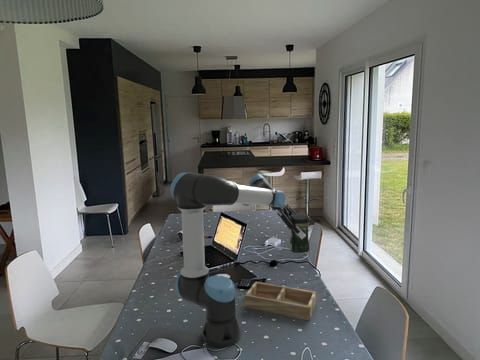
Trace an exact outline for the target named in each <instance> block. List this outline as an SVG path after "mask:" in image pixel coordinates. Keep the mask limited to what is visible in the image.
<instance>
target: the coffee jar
mask: <svg viewBox="0 0 480 360" xmlns="http://www.w3.org/2000/svg"><path fill="white" fill-rule="evenodd" d="M290 217H291V219H292V221H293V222H294V224H295V225H296V226H298V227H299V228H300V229H301V230H302V232H303V233H304V234H305V235H306V236H305V237H304V238H303V239H301V238H300V237H299V236H298V235H297V234H296V233H295V231H294V230H293V229H292V230H290V239H289V251H290V252H292V253H294V254H295V253H296V254H299V253H301V254H304V253H308V252H309V251H310V241H309V240H310V239H309V231H308V228H309V225H310V216H309V215H308V214H306V213H297V214H291V216H290Z"/></svg>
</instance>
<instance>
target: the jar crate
mask: <svg viewBox="0 0 480 360" xmlns="http://www.w3.org/2000/svg"><path fill="white" fill-rule="evenodd" d="M316 306H317V291H313V290H308V289H302V288H298V287H290V286H283V285H277V284H271V283H266V282H261V281H254V283H253V284H252V286H251V287H250V288H249V289H248V291H247V292H246V293H245V295H244V308H245V309H250V310H251V309H252V310H255V311H261V312H265V313H270V314H276V315H280V316H285V317H291V318H296V319H300V320H306V321H310V320H311V318H312V315H313V313H314V310H315V307H316Z"/></svg>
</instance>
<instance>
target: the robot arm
mask: <svg viewBox="0 0 480 360" xmlns="http://www.w3.org/2000/svg"><path fill="white" fill-rule="evenodd" d="M170 194H171V197H173V199H174V200H175V201H176V204H177V205H176V207H177V209H178V210H179V211H180V212H181V228H182V230H181V232H182V251H183V253H182V254H183V267H182V268H181V269H180V273H179V274H178V275H177V279H176V280H175V282H174V283H175V284H174V287H175V292H176V293H177V296H179V298H181V299H183V301H186V302H189V303H191V304H193V305H196V306H198V307H200V308H202V309H205V321H204V324H203V327H202V333H201V334H202V340H203V342H204V344H207V345H208V346H210V347H214V348H227V347H231V346H233V345H234V344H236V343H237V342H238V341H239V340H240V339H241V327H240V325H239V322H238V319H237V318H236V289H235V284H234V282H233V281H232V279H231V278H229V277H227V276H224V275H211V276H210V270H209V267H207V266H206V261H205V260H206V259H205V255H206V254H205V233H204V232H205V229H204V227H205V226H204V210H205V209H206V208H207V207H208V206H213V207H214V206H233V205H234V204H240V205H242V206H245V207H247V206H250V205H255V206H256V205H257V206H266V207H267V206H269V207H270V208H271V210H273V211H276V210H277V213H276V214H277V216H279V218H280V219H281V220H282V222H284V224H285V225H286V226H287V228H288V229H289V230H290V231H291V230H292V229H293V230H294V231H295V233H296V234H297V235H298V236H299V237H300V238H301V239H303V238H304V237H305V236H306V235H305V234H304V233H303V232H302V230H301V229H300V228H299V227H298V226H296V225H295V224H294V222H293V221H292V219H291V217H290V216H291V214H298V213H297V211H295V210H294V209H293V208H292V207H291V206H290V204H288V203H287V204H285V203H286V199H287V198H286V193H285V192H284V191H283V190H279V189H276V188H275V187H274V186H272V185H271V184H270V183H269V181H268V180H267V179H266V178H265V176H263V175H262V174H261V173H257V174H255V175H254V176H253V177H252V178H251V179H250V180H249V181H248V185H243V184H239V183H238V184H237V183H236V182H235V181H233V180H228V179H224V178H222V177H217V176H214V175H212V174H211V175H210V174H203V173H197V172H181V173H179V174H177V175H176V176H175V177H174V178H173V180H172V182H171V185H170ZM310 230H311V229H310V228H309V227H308V232H310Z"/></svg>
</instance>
